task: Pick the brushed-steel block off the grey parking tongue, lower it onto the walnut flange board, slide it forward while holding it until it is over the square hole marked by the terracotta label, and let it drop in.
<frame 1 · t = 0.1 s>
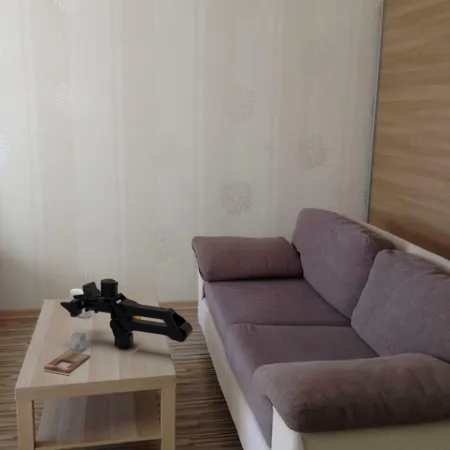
hand: (67, 299, 229), 17 cm above the table, tool horizontal, fingers open, 9 cm apart
flange board: (67, 365, 209), on the table
duckling: (131, 326, 248), on the table
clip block: (78, 349, 221), point 1 cm above the table, touching parking tongue
parking tongue: (78, 351, 221), on the table
photo printer: (80, 315, 258), on the table
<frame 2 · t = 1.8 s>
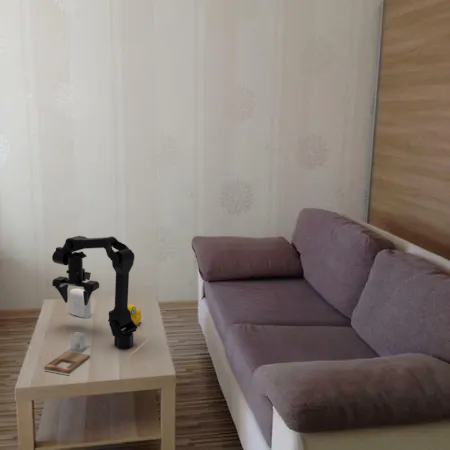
hand: (76, 303, 235), 13 cm above the table, tool pointing down, fingers open, 9 cm apart
nothing on the table moved.
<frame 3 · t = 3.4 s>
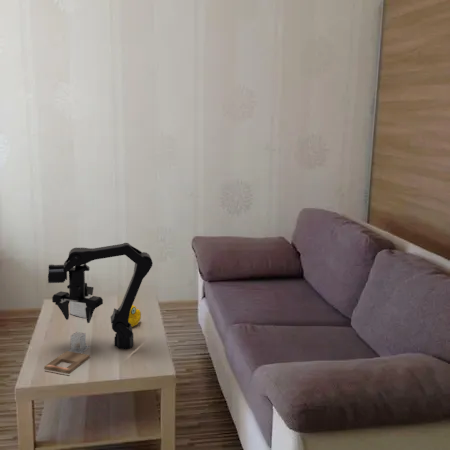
hand: (77, 321, 218), 12 cm above the table, tool pointing down, fingers open, 9 cm apart
nothing on the table moved.
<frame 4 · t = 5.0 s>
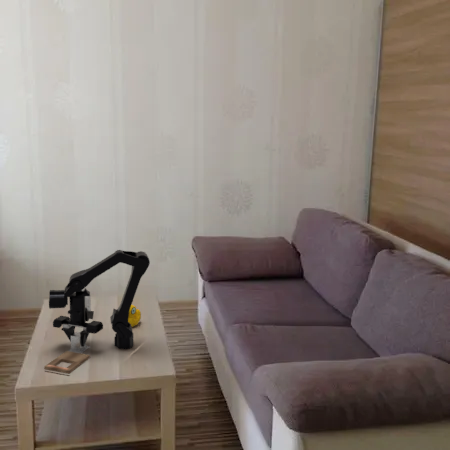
hand: (78, 345, 220), 3 cm above the table, tool pointing down, fingers closed on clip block, 4 cm apart
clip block: (78, 349, 221), point 1 cm above the table, touching gripper, parking tongue
everything else where it was.
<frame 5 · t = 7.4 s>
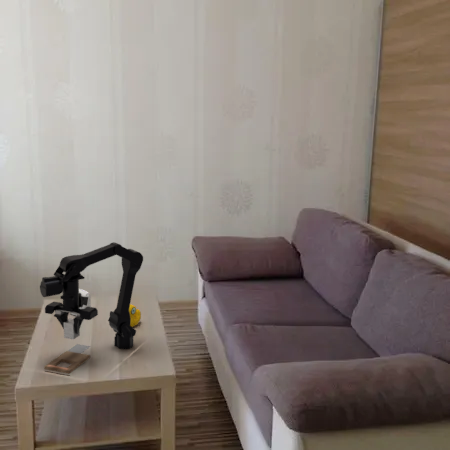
hand: (71, 332, 209), 12 cm above the table, tool pointing down, fingers closed on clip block, 4 cm apart
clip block: (71, 336, 209), point 10 cm above the table, touching gripper
everything else where it was.
when the fingers open (4 cm above the table, at t = 10.1 s): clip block drops 3 cm, resting in flange board.
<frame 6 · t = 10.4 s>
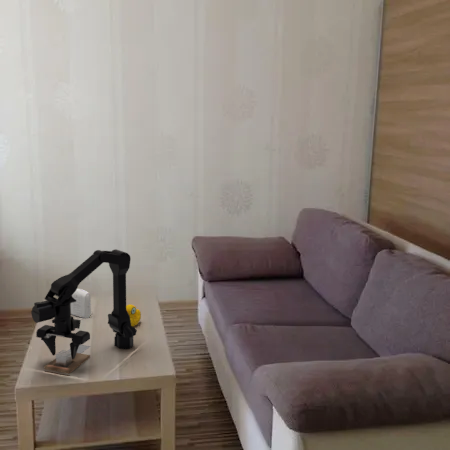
hand: (63, 356, 205), 4 cm above the table, tool pointing down, fingers open, 8 cm apart
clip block: (64, 368, 206), resting in flange board
everything else where it was.
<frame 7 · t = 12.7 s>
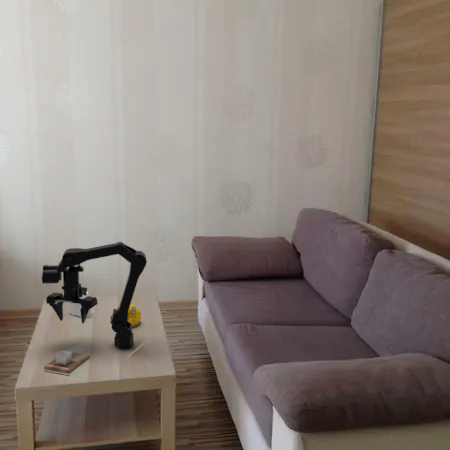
hand: (72, 321, 219), 12 cm above the table, tool pointing down, fingers open, 9 cm apart
nothing on the table moved.
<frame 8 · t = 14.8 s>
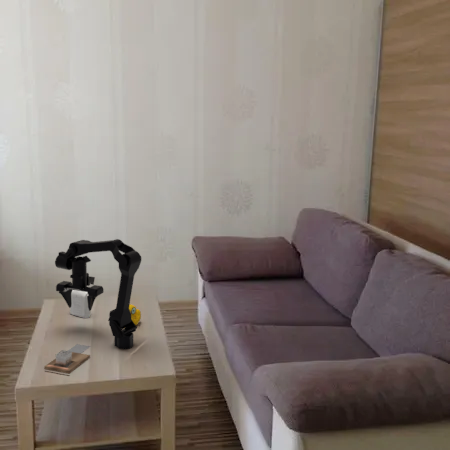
hand: (80, 308, 232), 12 cm above the table, tool pointing down, fingers open, 9 cm apart
nothing on the table moved.
at the end: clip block 0.1 cm from the target spot, resting in flange board; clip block tilted 0°; the gripper is holding nothing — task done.
